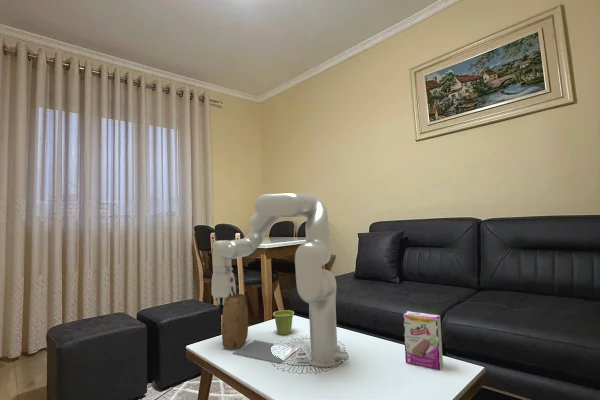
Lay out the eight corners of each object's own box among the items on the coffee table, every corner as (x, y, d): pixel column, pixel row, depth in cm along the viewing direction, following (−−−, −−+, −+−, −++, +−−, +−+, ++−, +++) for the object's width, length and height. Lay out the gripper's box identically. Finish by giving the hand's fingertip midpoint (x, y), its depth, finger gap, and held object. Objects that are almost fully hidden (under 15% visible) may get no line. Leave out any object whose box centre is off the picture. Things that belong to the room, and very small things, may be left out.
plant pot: (272, 330, 148) (271, 311, 148) (293, 328, 150) (292, 309, 150) (274, 337, 139) (274, 317, 139) (296, 335, 140) (295, 314, 141)
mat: (299, 348, 126) (299, 348, 126) (280, 363, 113) (280, 363, 113) (254, 340, 136) (254, 340, 136) (232, 353, 124) (232, 353, 124)
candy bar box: (405, 363, 109) (402, 314, 110) (409, 358, 113) (406, 310, 114) (440, 371, 103) (437, 318, 104) (443, 365, 107) (440, 314, 108)
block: (235, 351, 126) (236, 299, 126) (219, 348, 128) (220, 297, 129) (250, 341, 136) (251, 293, 136) (235, 338, 138) (235, 291, 139)
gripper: (242, 269, 136) (243, 313, 135) (215, 267, 143) (216, 310, 142) (230, 272, 130) (231, 318, 129) (202, 270, 137) (204, 314, 136)
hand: (223, 314), depth 135 cm, fingers closed
